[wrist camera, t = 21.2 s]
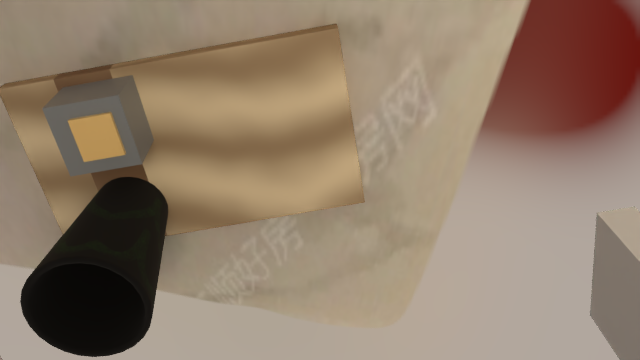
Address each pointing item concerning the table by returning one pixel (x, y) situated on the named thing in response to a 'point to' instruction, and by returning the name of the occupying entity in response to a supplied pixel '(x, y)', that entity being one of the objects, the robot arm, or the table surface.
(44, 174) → the panel
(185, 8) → the table surface
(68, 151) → the grey block
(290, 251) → the table surface
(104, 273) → the cup
